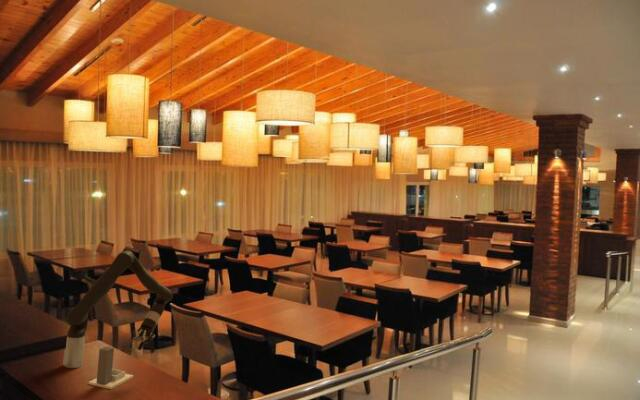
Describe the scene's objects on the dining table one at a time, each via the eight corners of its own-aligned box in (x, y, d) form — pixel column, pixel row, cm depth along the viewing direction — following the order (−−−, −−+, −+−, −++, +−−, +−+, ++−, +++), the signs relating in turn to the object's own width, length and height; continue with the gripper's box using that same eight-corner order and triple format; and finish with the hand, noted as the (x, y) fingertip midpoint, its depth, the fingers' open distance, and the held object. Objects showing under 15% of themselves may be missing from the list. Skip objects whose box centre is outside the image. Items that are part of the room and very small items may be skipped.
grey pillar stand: (88, 384, 254) (91, 347, 254) (111, 372, 272) (114, 338, 272) (111, 389, 251) (114, 352, 250) (133, 377, 268) (136, 343, 268)
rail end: (131, 356, 262) (133, 338, 262) (135, 354, 266) (137, 336, 265) (137, 357, 261) (139, 339, 261) (142, 355, 265) (143, 337, 264)
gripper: (137, 315, 272) (121, 342, 260) (159, 319, 268) (144, 347, 257) (142, 322, 277) (126, 349, 266) (164, 326, 273) (149, 354, 262)
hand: (135, 348), depth 261 cm, fingers closed on rail end, 4 cm apart
